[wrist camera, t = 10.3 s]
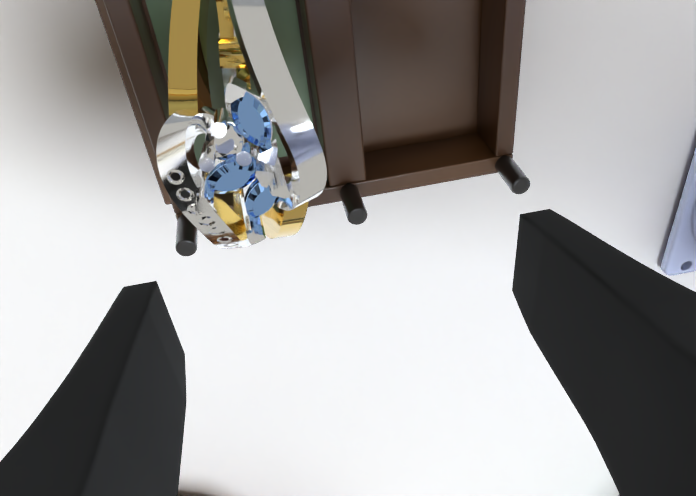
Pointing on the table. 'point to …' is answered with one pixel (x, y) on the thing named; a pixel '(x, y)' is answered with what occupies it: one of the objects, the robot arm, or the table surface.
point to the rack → (358, 88)
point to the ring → (236, 129)
